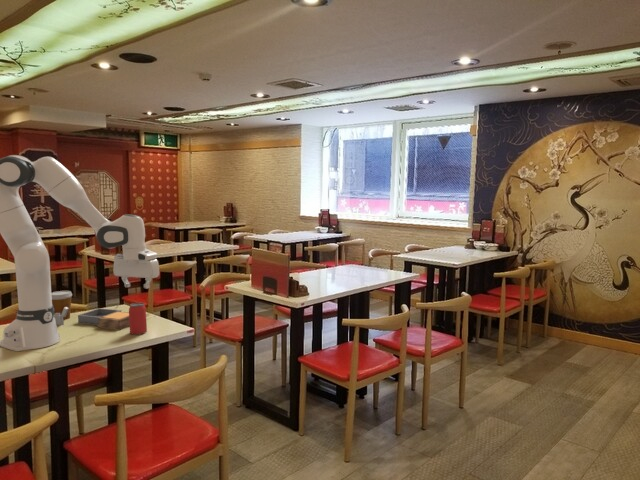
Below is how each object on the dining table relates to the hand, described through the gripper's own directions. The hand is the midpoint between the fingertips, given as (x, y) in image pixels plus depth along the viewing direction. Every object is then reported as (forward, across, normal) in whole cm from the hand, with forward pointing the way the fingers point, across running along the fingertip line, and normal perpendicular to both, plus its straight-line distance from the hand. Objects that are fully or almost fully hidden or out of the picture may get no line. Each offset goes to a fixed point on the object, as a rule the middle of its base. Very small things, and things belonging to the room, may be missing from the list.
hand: (137, 287), depth 196 cm
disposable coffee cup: (+19, -48, +7) cm, 52 cm away
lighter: (+19, -40, -1) cm, 45 cm away
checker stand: (+19, -16, +7) cm, 26 cm away
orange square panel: (+16, -16, +7) cm, 24 cm away
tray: (+19, -29, +10) cm, 36 cm away
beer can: (+19, -1, 0) cm, 19 cm away
